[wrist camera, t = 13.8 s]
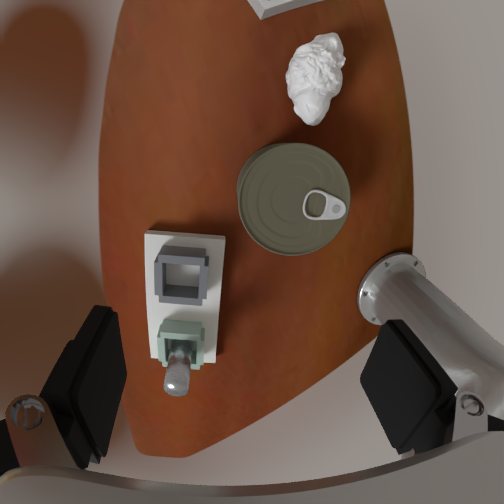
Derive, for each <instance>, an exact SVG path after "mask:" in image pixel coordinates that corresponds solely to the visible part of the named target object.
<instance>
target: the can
mask: <svg viewBox="0 0 504 504" xmlns="http://www.w3.org/2000/svg"><path fill="white" fill-rule="evenodd" d="M237 198H238V209H239V214H240V218H241V221H242V223H243V225H244V227H245V229H246V231H247V232H248V234H249V235H250V236H251V238H252V239H253V240H254V241H255V242H256V243H258V244H259V245H260V246H262V247H263V248H265V249H267V250H269V251H271V252H274V253H277V254H281V255H288V256H297V255H304V254H308V253H311V252H314V251H316V250H318V249H320V248H322V247H323V246H325V245H326V244H328V243H329V242H330V241H331V240H332V239H333V238H334V237H335V236H336V235H337V234H338V233H339V231H340V230H341V228H342V227H343V225H344V223H345V221H346V219H347V216H348V213H349V209H350V202H351V193H350V185H349V182H348V179H347V176H346V174H345V172H344V170H343V168H342V167H341V165H340V164H339V163H338V161H337V160H336V159H335V158H334V157H333V156H331V155H330V154H329V153H328V152H326V151H325V150H323V149H321V148H319V147H316V146H313V145H310V144H305V143H277V144H272V145H269V146H266V147H264V148H262V149H260V150H258V151H257V152H255V153H254V154H253V155H252V156H251V157H250V158H249V159H248V160H247V161H246V163H245V164H244V166H243V167H242V169H241V172H240V174H239V177H238V181H237Z"/></svg>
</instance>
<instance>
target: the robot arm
mask: <svg viewBox="0 0 504 504" xmlns="http://www.w3.org/2000/svg"><path fill="white" fill-rule="evenodd" d="M357 302H358V307H359V310H360V312H361V314H362V315H363V316H364V318H365V319H366V320H368V321H369V322H371V323H373V324H377V325H382V327H381V329H380V332H379V334H378V337H377V339H376V342H375V344H374V347H373V349H372V351H371V353H370V356H369V358H368V360H367V363H366V365H365V367H364V369H363V371H362V374H361V377H360V382H361V385H362V387H363V389H364V391H365V393H366V395H367V397H368V399H369V401H370V403H371V405H372V406H373V409H374V411H375V412H376V415H377V417H378V419H379V421H380V423H381V425H382V427H383V429H384V431H385V433H386V435H387V437H388V439H389V441H390V443H391V445H392V447H393V448H396V450H397V452H398V454H402V458H401V460H399V461H396V462H392V463H389V464H385V465H382V466H378V467H374V468H370V469H366V470H362V471H357V472H353V473H348V474H343V475H339V476H333V477H327V478H322V479H314V480H307V481H300V482H291V483H281V484H268V485H249V486H206V485H187V484H174V483H164V482H155V481H147V480H139V479H133V478H127V477H121V476H115V475H109V474H104V473H98V472H92V471H88V470H86V469H85V468H87V467H88V464H89V462H93V463H97V464H99V463H100V459H101V456H103V457H105V456H106V454H107V451H108V446H109V442H110V437H111V434H112V430H113V426H114V422H115V418H116V414H117V411H118V407H119V403H120V400H121V396H122V392H123V389H124V385H125V382H126V377H127V370H126V365H125V359H124V353H123V348H122V341H121V335H120V328H119V321H118V314H117V312H113V310H112V308H111V307H107V306H99V305H95V306H94V307H93V309H92V310H91V312H90V313H89V315H88V317H87V318H86V320H85V321H84V323H83V325H82V327H81V328H80V330H79V332H78V334H77V335H76V337H75V339H74V340H70V341H69V342H68V343H67V345H66V347H65V348H64V350H63V352H62V354H61V356H60V357H59V359H58V361H57V363H56V364H55V366H54V368H53V370H52V372H51V374H50V376H49V377H48V380H47V381H46V383H45V385H44V387H43V389H42V391H41V393H40V395H39V396H36V395H33V394H24V395H20V396H18V397H16V398H14V399H13V400H12V401H11V402H10V403H9V405H8V406H7V408H6V412H5V417H6V418H5V419H3V420H1V421H0V504H504V346H503V345H502V344H500V343H499V342H498V341H497V340H495V339H494V338H493V337H492V336H491V335H490V334H488V333H487V332H486V331H485V330H484V329H483V328H482V327H480V326H479V325H478V324H477V323H476V322H475V321H474V320H473V319H472V318H470V316H469V315H467V314H466V313H465V312H464V311H463V310H462V309H461V308H460V307H459V306H457V305H456V304H455V303H454V302H453V301H452V300H451V299H450V298H448V297H447V296H446V295H445V294H444V293H443V292H442V291H440V290H439V289H438V288H437V287H436V286H434V285H433V284H432V283H431V282H430V281H428V280H427V279H426V273H425V269H424V266H423V265H422V263H421V262H420V261H419V260H418V259H417V258H416V257H415V256H413V255H411V254H409V253H404V252H398V253H393V254H390V255H387V256H385V257H383V258H382V259H380V260H379V261H378V262H376V263H375V264H374V265H373V266H372V267H371V268H370V269H369V271H368V272H367V273H366V275H365V276H364V278H363V280H362V282H361V284H360V287H359V290H358V296H357ZM457 390H458V392H457V394H456V396H455V395H454V394H455V393H456V391H457Z"/></svg>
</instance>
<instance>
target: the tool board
mask: <svg viewBox="0 0 504 504" xmlns="http://www.w3.org/2000/svg"><path fill="white" fill-rule="evenodd" d="M224 251H225V236H220V235H208V234H195V233H181V232H168V231H154V230H147V231H146V233H145V278H146V300H147V316H148V330H149V341H150V352H151V358H158V359H159V361H162V365H163V366H164V367H167V365H168V359H169V354H170V349H171V344H172V339H179V340H191V341H193V347H192V357H191V368H190V369H199V370H200V365H203V363H204V362H206V363H215V359H216V345H217V332H218V319H219V307H220V295H221V283H222V272H223V261H224Z"/></svg>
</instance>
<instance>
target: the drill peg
mask: <svg viewBox="0 0 504 504" xmlns="http://www.w3.org/2000/svg"><path fill="white" fill-rule="evenodd" d="M192 347H193V341H191V340H179V339H172V344H171V349H170V354H169V359H168V365H167V370H166V376H165V382H164V390H165V391H166V392H167V393H168V394H170V395H172V396H184V395H186V394H187V393H188V390H189V379H190V368H191V357H192Z"/></svg>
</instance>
